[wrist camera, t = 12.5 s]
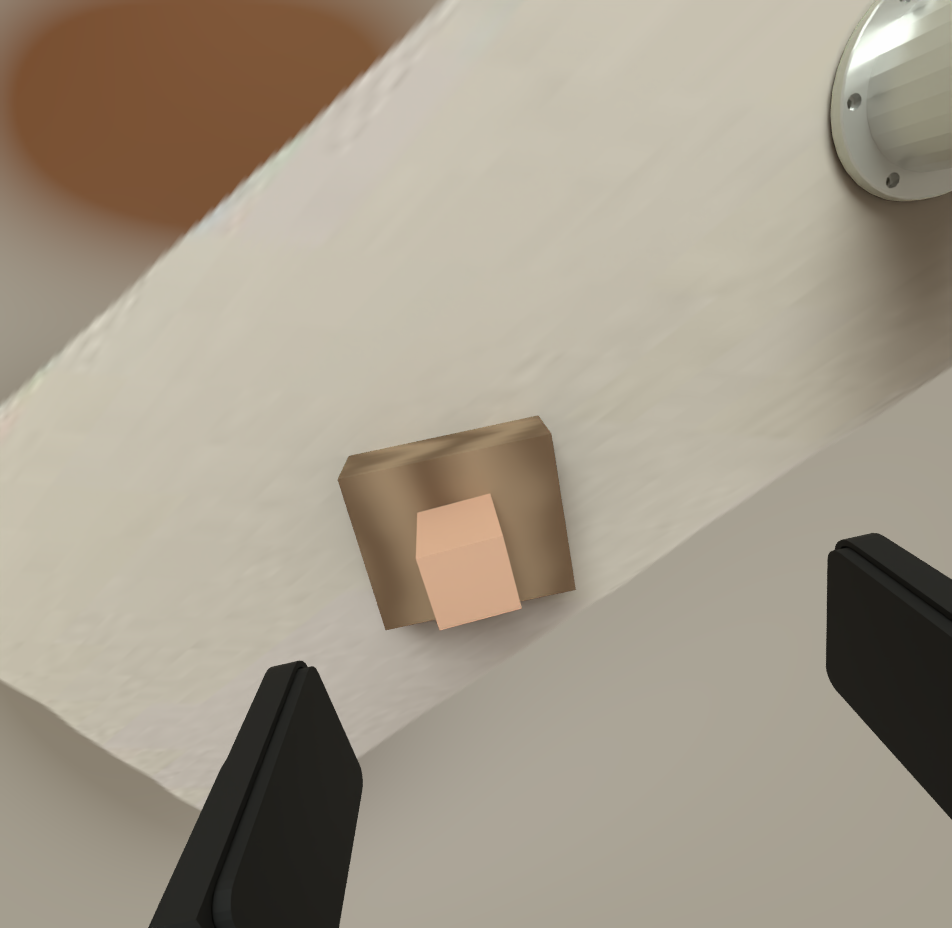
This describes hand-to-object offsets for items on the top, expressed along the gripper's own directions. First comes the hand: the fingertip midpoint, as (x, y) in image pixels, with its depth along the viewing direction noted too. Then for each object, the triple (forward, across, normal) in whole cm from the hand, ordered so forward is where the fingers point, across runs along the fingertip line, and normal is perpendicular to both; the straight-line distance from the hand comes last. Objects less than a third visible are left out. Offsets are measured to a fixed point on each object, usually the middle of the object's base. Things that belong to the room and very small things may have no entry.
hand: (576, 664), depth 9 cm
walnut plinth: (+29, +4, +10) cm, 31 cm away
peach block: (+24, +4, +10) cm, 26 cm away
